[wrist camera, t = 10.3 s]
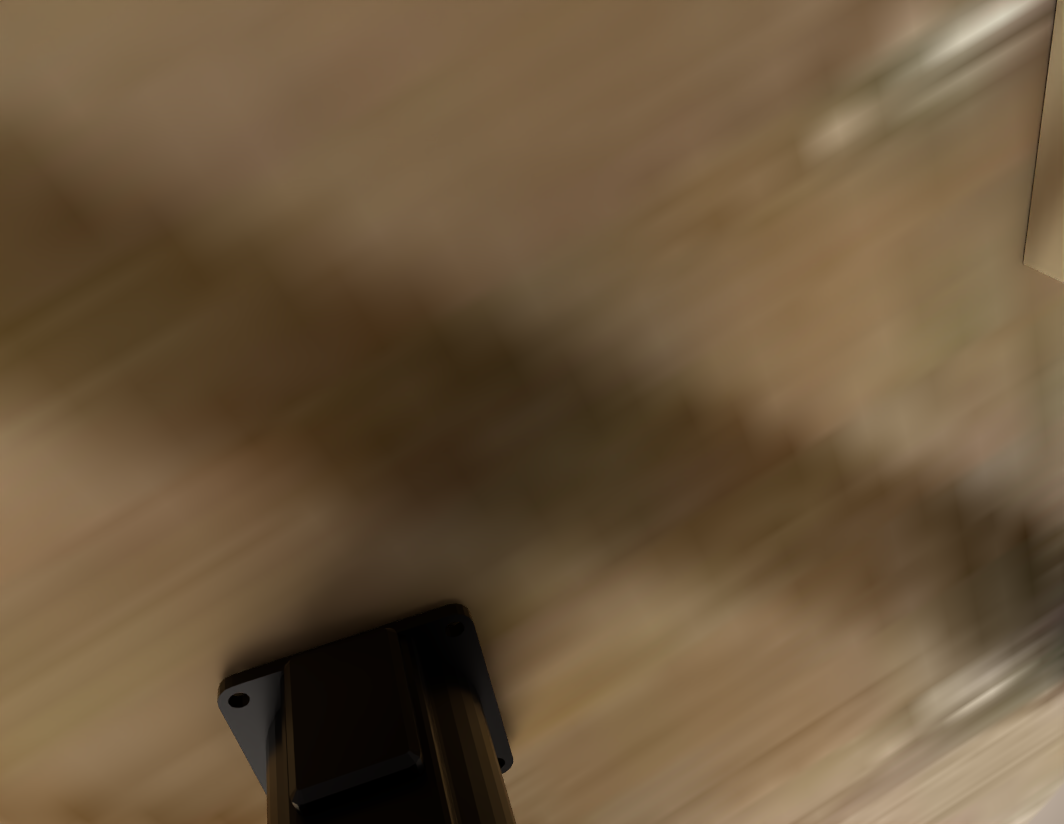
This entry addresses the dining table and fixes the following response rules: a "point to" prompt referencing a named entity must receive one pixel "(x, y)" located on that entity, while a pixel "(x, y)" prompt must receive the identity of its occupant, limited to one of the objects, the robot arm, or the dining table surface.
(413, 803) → the robot arm
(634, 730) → the dining table surface
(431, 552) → the dining table surface
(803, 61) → the dining table surface
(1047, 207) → the rail
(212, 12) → the dining table surface
